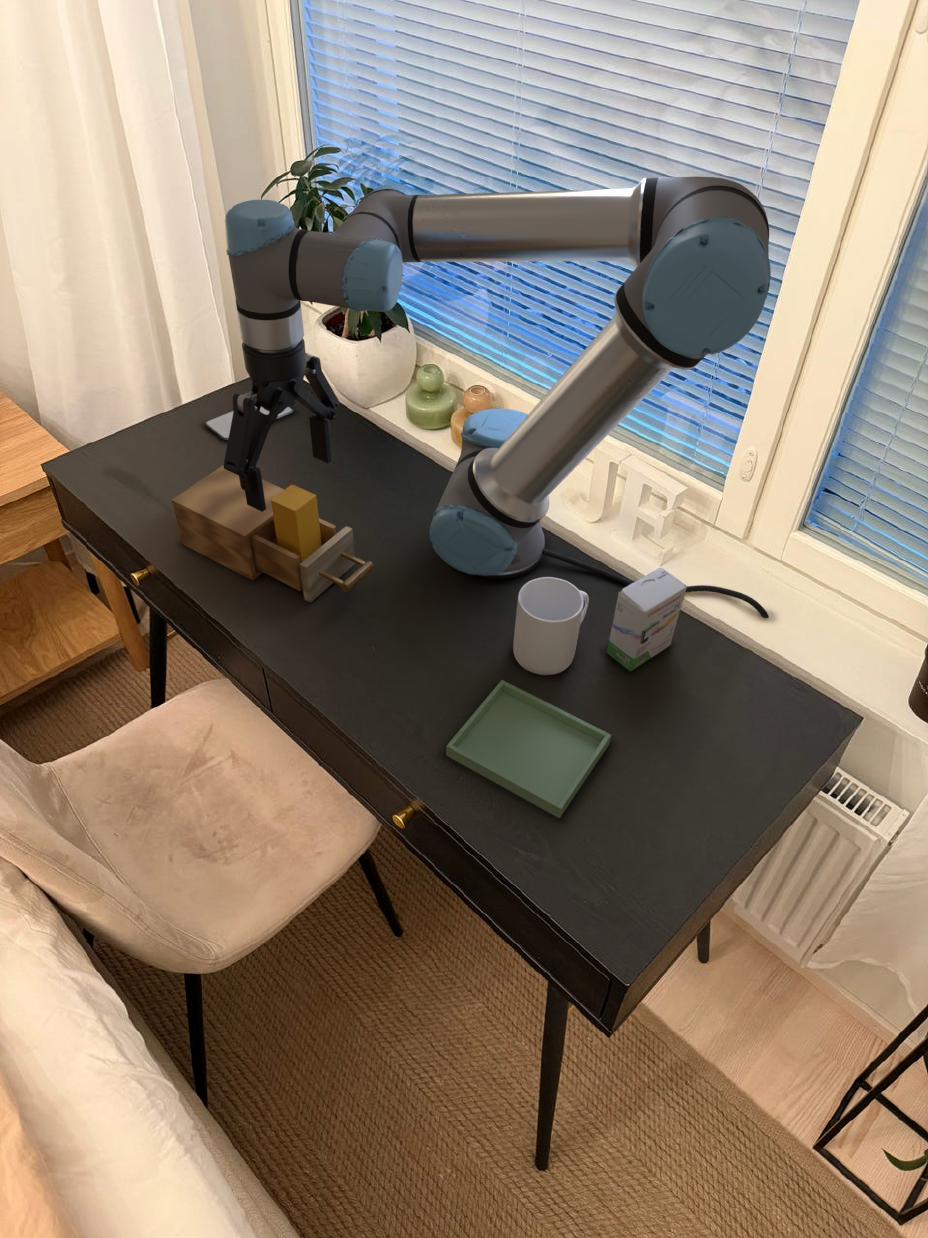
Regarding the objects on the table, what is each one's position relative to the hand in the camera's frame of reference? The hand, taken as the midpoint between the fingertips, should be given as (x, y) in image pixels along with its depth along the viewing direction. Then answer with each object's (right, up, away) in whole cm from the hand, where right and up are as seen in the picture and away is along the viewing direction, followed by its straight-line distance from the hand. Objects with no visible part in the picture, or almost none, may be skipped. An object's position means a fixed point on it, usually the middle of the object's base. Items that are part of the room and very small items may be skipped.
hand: (290, 482), depth 123 cm
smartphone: (-15, +18, +41) cm, 47 cm away
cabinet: (-10, -7, +16) cm, 20 cm away
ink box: (+49, -23, +3) cm, 54 cm away
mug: (+36, -23, +2) cm, 43 cm away
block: (0, -10, +10) cm, 15 cm away
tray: (+32, -35, -11) cm, 49 cm away
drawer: (+1, -12, +10) cm, 16 cm away
